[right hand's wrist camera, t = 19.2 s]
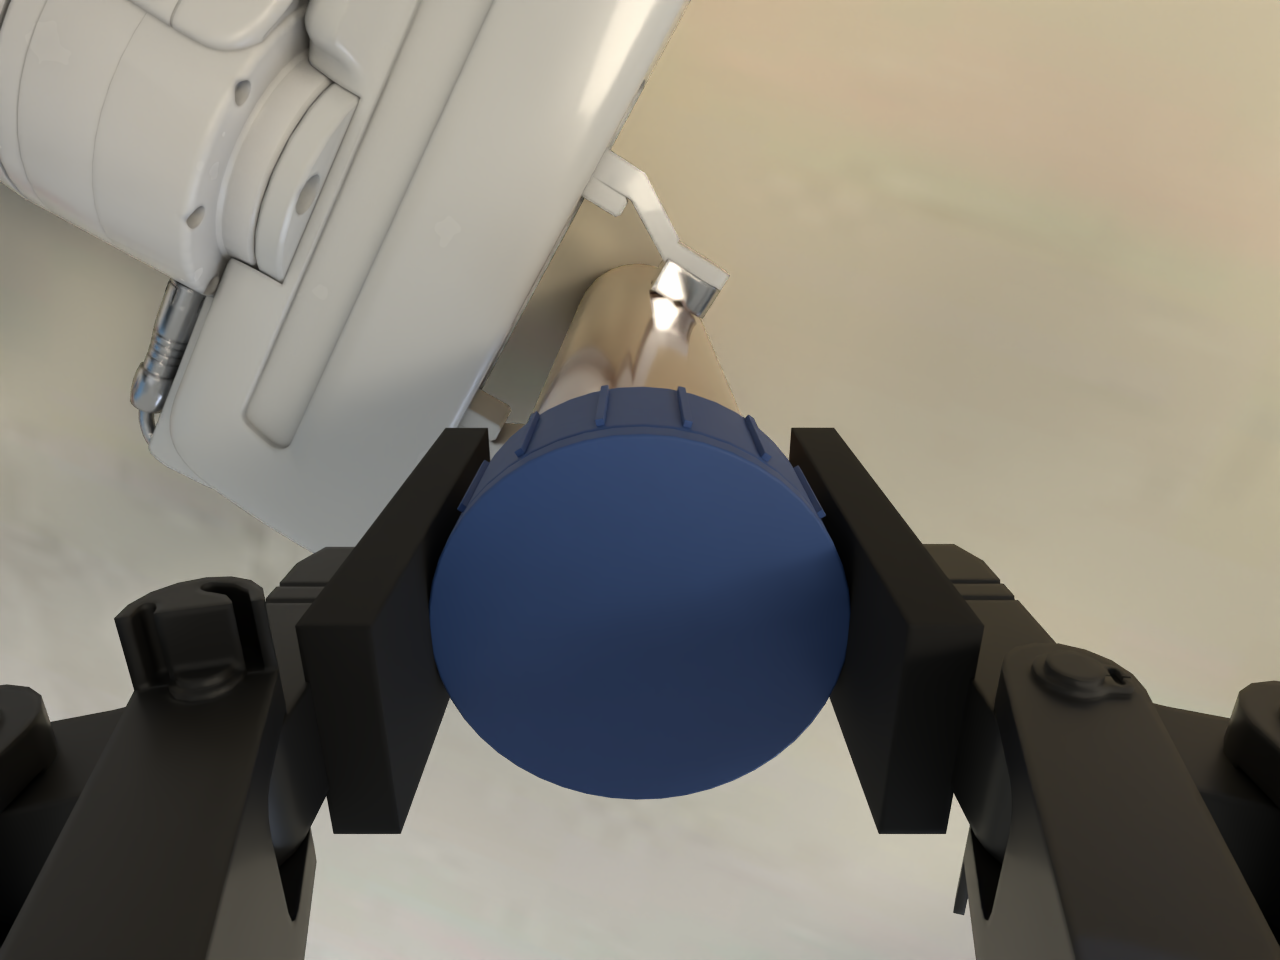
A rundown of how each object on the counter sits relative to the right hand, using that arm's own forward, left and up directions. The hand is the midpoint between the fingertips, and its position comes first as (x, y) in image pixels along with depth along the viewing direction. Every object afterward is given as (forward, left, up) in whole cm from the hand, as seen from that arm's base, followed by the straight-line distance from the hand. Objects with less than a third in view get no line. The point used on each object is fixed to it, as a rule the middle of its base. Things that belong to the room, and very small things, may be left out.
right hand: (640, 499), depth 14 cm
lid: (0, 0, +4) cm, 4 cm away
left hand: (0, +1, -10) cm, 10 cm away
